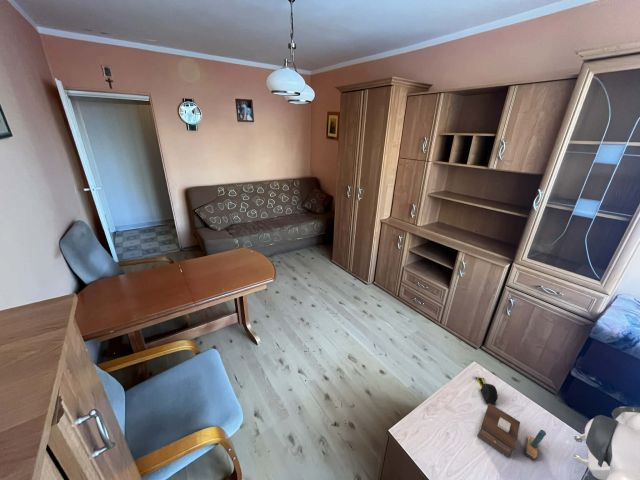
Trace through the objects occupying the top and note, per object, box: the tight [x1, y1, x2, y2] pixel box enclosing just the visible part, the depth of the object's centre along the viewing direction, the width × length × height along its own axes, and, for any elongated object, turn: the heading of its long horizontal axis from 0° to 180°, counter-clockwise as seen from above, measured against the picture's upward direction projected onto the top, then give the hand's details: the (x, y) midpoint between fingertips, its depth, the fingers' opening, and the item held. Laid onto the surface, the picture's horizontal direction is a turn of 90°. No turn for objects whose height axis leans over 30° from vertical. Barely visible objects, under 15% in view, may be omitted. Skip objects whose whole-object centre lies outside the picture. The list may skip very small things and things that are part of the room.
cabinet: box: [476, 403, 521, 458], centre depth 118 cm, size 15×13×8 cm
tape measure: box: [475, 376, 499, 406], centre depth 137 cm, size 15×4×8 cm, turn 171°
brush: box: [524, 429, 547, 461], centre depth 112 cm, size 8×3×13 cm, turn 138°
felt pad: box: [498, 417, 511, 432], centre depth 116 cm, size 4×4×2 cm
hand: (574, 447), depth 103 cm, fingers open, 8 cm apart
